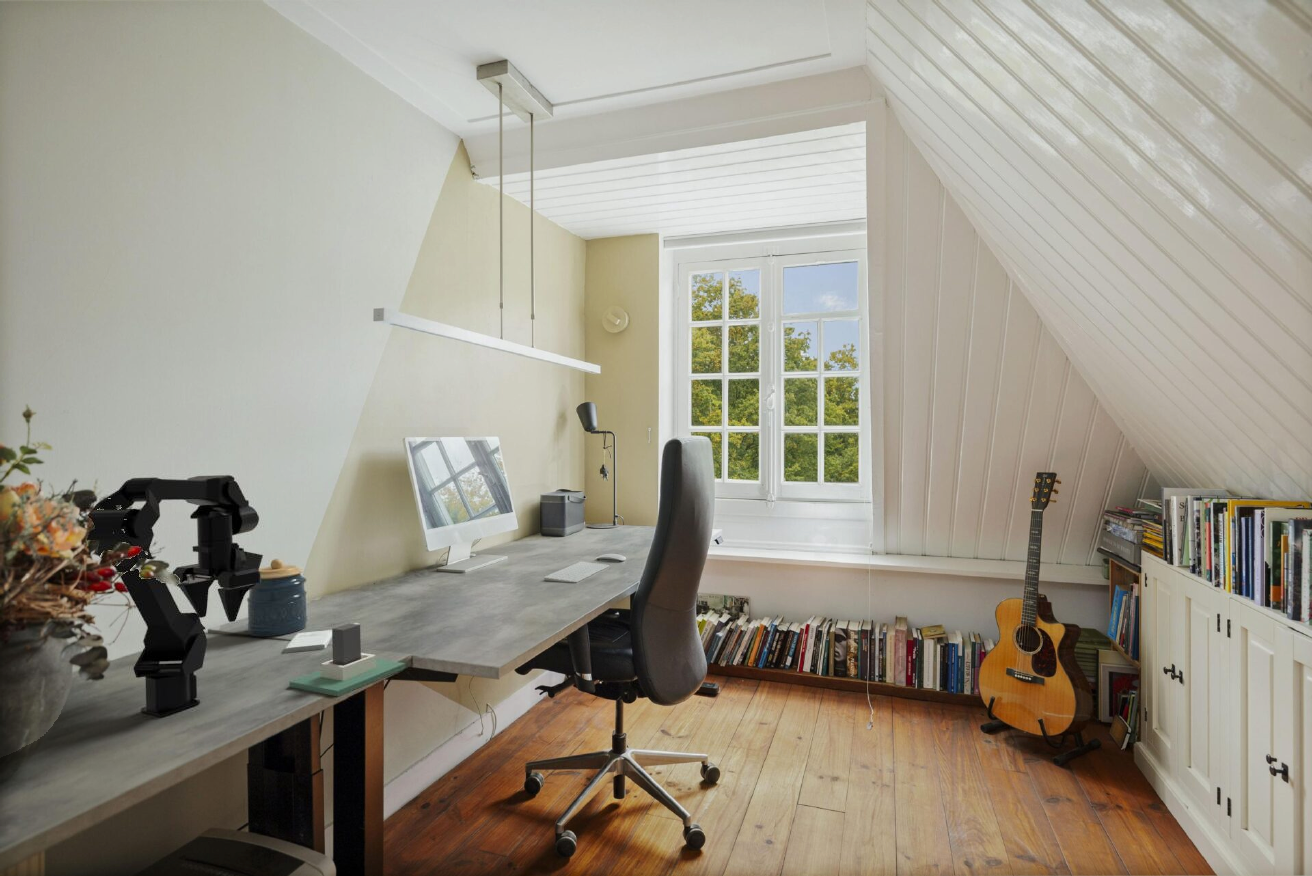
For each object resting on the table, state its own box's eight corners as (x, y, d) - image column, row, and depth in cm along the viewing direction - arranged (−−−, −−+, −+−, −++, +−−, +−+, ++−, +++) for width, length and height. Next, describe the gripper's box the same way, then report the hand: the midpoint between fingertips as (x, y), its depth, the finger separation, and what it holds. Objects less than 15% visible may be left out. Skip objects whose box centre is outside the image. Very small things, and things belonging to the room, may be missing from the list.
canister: (306, 632, 165) (305, 560, 165) (245, 640, 159) (243, 565, 159) (308, 620, 177) (306, 552, 177) (250, 627, 171) (248, 557, 171)
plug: (344, 677, 129) (343, 630, 129) (333, 675, 130) (332, 628, 130) (364, 669, 134) (363, 623, 134) (353, 667, 135) (352, 622, 135)
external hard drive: (284, 655, 149) (296, 639, 161) (325, 651, 151) (334, 635, 163) (284, 648, 149) (296, 632, 161) (324, 644, 151) (334, 629, 163)
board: (337, 696, 122) (337, 677, 122) (289, 686, 128) (289, 668, 128) (405, 668, 137) (404, 651, 137) (359, 660, 142) (358, 644, 142)
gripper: (285, 535, 135) (287, 613, 135) (226, 532, 143) (227, 605, 143) (230, 544, 125) (232, 628, 125) (169, 539, 133) (171, 618, 133)
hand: (217, 619), depth 132 cm, fingers open, 9 cm apart
